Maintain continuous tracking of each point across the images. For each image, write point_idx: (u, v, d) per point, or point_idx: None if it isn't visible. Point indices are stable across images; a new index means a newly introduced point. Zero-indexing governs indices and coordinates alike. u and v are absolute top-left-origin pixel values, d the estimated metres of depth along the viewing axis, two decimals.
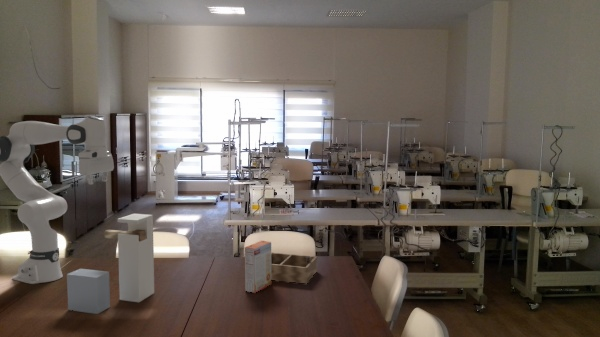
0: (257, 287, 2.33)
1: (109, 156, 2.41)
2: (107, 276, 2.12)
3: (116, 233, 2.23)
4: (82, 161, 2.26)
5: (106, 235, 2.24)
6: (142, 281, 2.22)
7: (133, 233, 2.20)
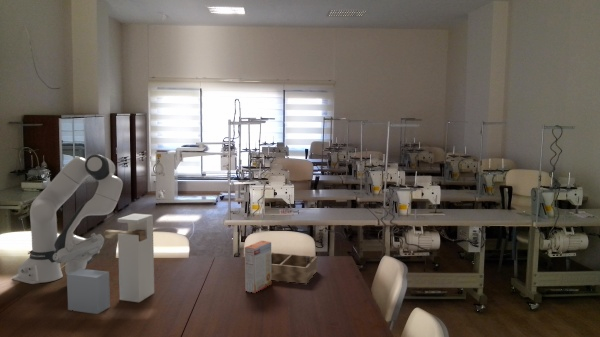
0: (257, 287, 2.33)
1: (66, 261, 2.26)
2: (107, 276, 2.12)
3: (116, 233, 2.23)
4: None
5: (106, 235, 2.24)
6: (142, 281, 2.22)
7: (133, 233, 2.20)
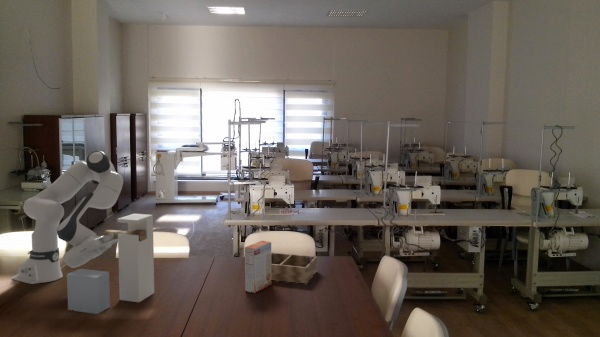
0: (257, 287, 2.33)
1: (89, 252, 2.21)
2: (107, 276, 2.12)
3: (116, 233, 2.23)
4: None
5: (106, 235, 2.24)
6: (142, 281, 2.22)
7: (133, 233, 2.20)
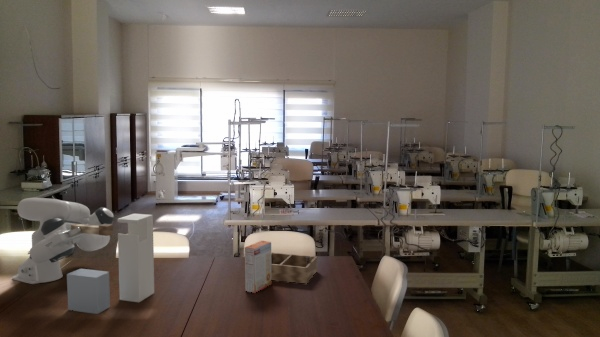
0: (257, 287, 2.33)
1: (55, 246, 2.17)
2: (107, 276, 2.12)
3: (83, 227, 2.19)
4: None
5: (73, 229, 2.20)
6: (142, 281, 2.22)
7: (100, 227, 2.16)
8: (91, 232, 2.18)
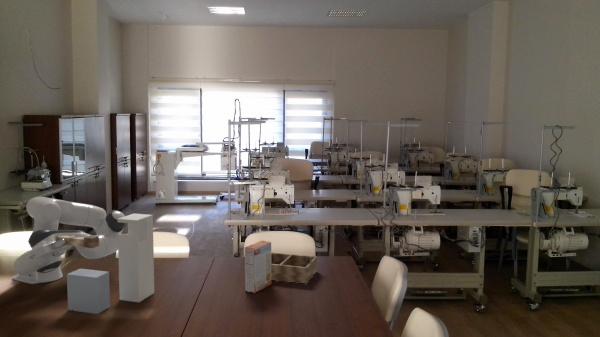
0: (257, 287, 2.33)
1: (38, 258, 2.09)
2: (107, 276, 2.12)
3: (68, 239, 2.10)
4: None
5: (57, 241, 2.12)
6: (142, 281, 2.22)
7: (85, 239, 2.08)
8: (77, 244, 2.10)
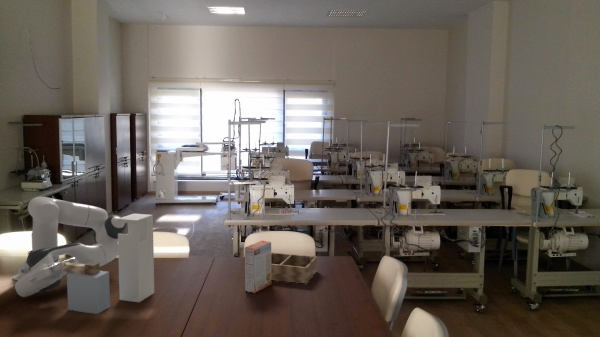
0: (257, 287, 2.33)
1: (39, 281, 2.10)
2: (107, 276, 2.12)
3: (69, 266, 2.12)
4: None
5: None
6: (142, 281, 2.22)
7: (86, 266, 2.09)
8: (77, 271, 2.11)
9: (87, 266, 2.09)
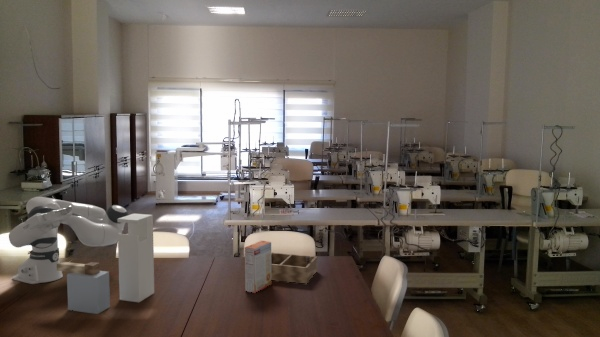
0: (257, 287, 2.33)
1: (33, 228, 2.10)
2: (107, 276, 2.12)
3: (69, 266, 2.12)
4: None
5: (58, 268, 2.13)
6: (142, 281, 2.22)
7: (86, 266, 2.09)
8: (77, 271, 2.11)
9: (87, 266, 2.09)
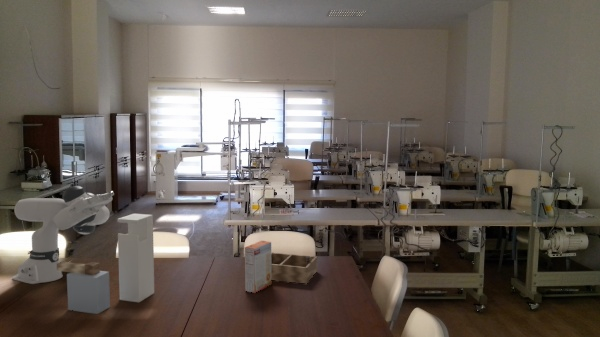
0: (257, 287, 2.33)
1: (78, 212, 2.23)
2: (107, 276, 2.12)
3: (69, 266, 2.12)
4: None
5: (58, 268, 2.13)
6: (142, 281, 2.22)
7: (86, 266, 2.09)
8: (77, 271, 2.11)
9: (87, 266, 2.09)
